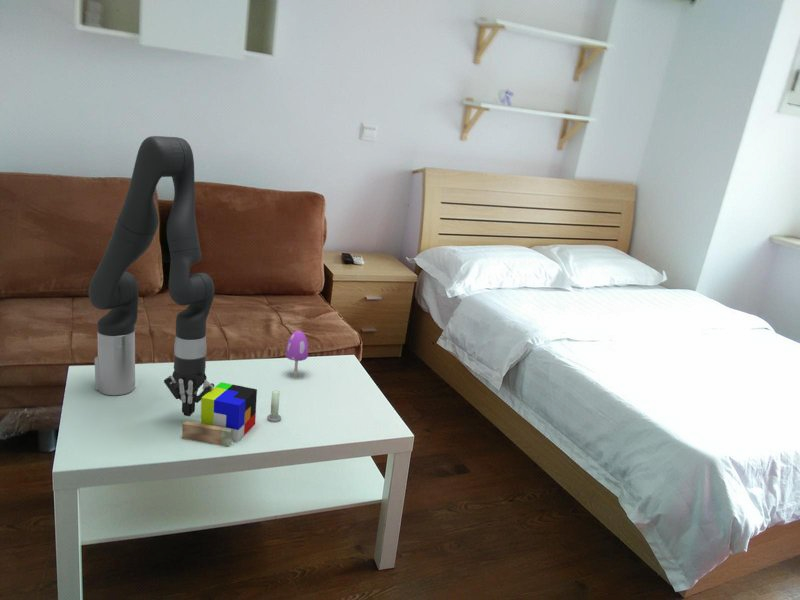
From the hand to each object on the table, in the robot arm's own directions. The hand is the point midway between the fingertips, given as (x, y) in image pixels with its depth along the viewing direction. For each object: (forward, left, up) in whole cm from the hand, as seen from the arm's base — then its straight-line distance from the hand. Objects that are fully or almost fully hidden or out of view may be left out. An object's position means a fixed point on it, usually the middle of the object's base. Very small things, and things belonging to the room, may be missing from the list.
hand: (188, 414), depth 160 cm
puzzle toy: (+11, 0, -2) cm, 11 cm away
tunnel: (+8, +3, -2) cm, 9 cm away
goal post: (+20, +9, -2) cm, 22 cm away
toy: (+17, +38, -2) cm, 42 cm away
